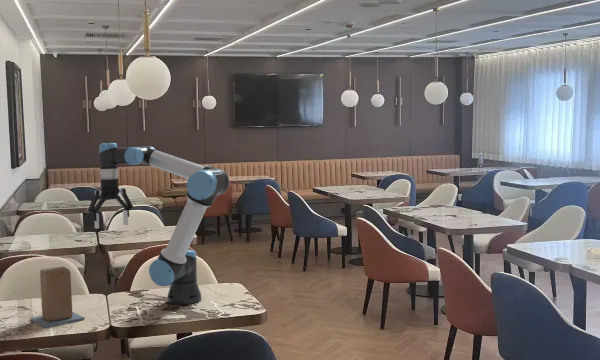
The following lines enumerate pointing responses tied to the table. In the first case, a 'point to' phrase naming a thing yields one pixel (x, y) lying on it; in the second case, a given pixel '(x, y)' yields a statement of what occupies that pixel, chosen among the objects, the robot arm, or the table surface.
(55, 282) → the wooden block
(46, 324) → the slate plate
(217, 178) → the robot arm
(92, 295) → the table surface
